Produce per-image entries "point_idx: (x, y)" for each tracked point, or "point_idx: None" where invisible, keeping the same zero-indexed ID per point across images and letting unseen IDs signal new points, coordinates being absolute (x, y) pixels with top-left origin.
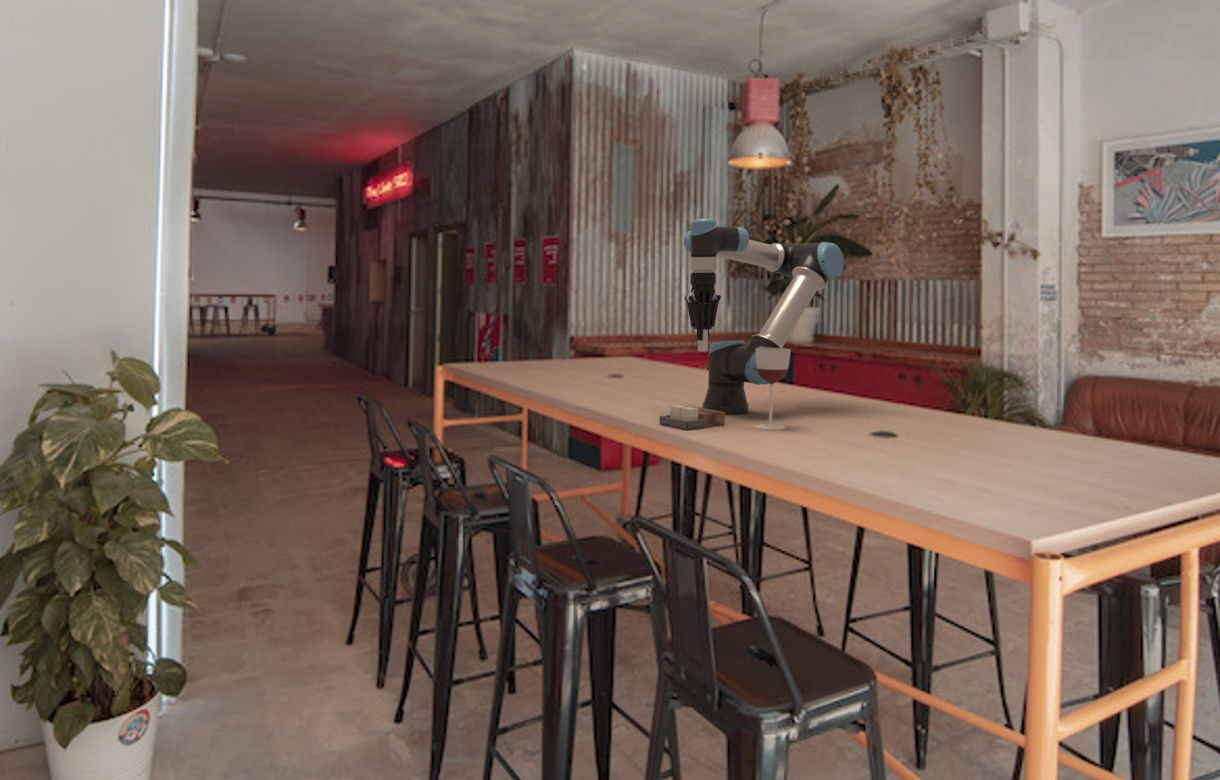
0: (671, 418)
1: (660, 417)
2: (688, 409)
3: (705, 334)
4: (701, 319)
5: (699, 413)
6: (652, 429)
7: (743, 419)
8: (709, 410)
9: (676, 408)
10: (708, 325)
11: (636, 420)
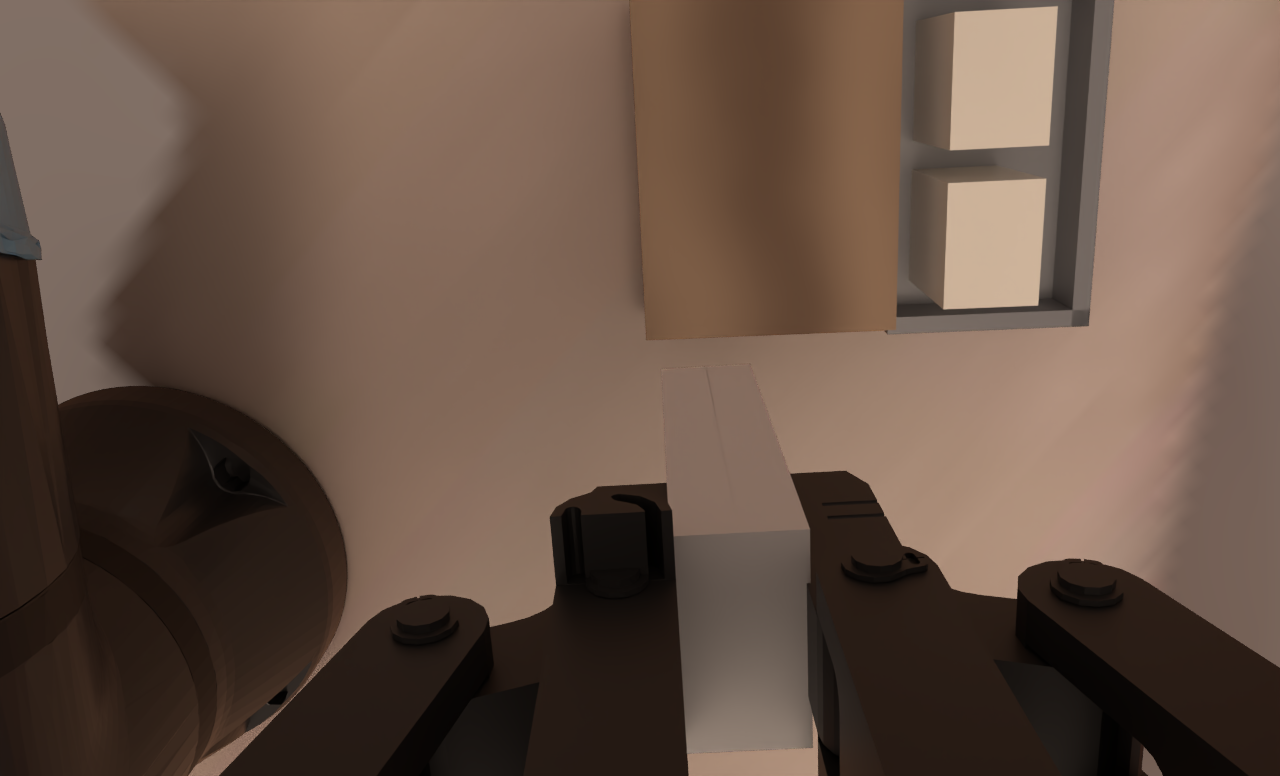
0: (1100, 170)
1: (1084, 312)
2: (1054, 42)
3: (742, 483)
4: (1004, 710)
5: (895, 51)
6: (1264, 164)
7: (290, 166)
8: (689, 151)
9: (1039, 217)
10: (630, 606)
11: (1062, 552)
